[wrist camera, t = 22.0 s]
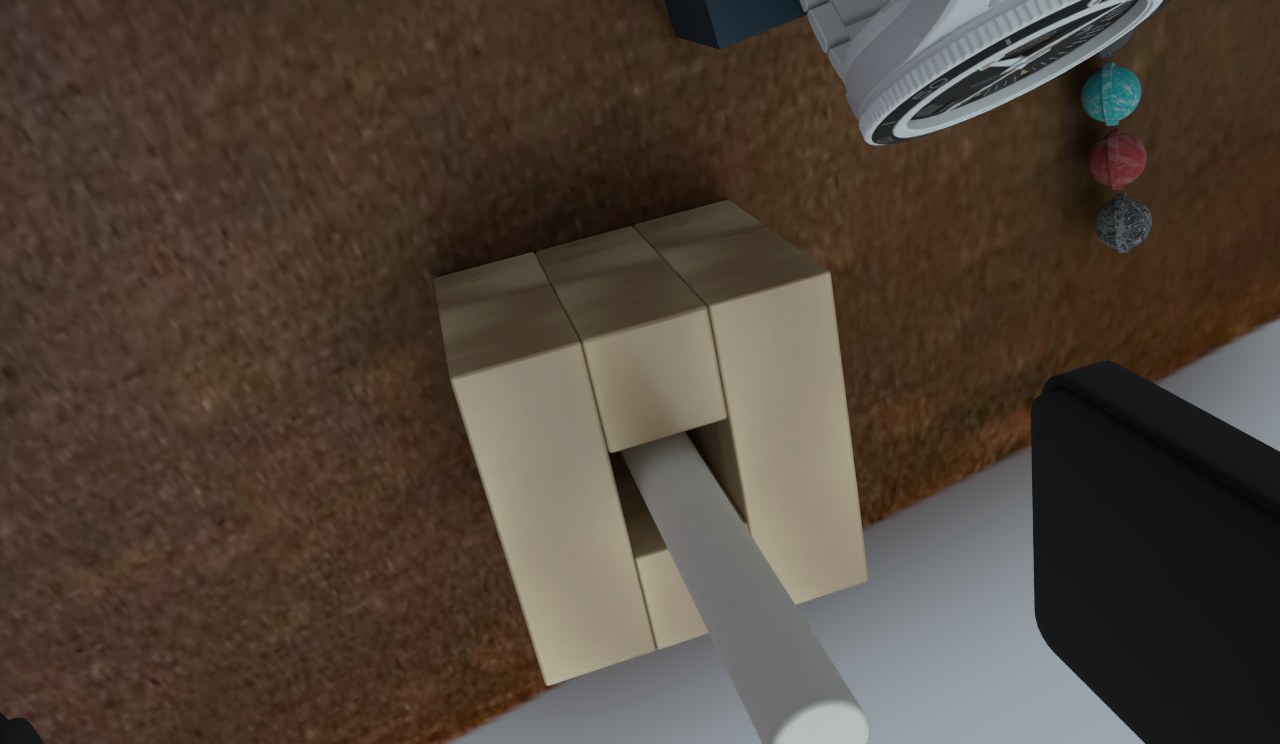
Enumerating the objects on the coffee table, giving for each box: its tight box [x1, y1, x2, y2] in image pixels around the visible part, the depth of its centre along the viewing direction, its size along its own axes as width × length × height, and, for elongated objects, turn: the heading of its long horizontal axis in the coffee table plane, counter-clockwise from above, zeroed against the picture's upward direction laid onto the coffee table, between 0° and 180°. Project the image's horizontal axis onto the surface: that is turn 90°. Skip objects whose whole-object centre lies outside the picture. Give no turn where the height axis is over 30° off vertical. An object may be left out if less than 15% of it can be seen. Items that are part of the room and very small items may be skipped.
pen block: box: [433, 200, 868, 686], centre depth 22 cm, size 7×7×6 cm
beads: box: [1081, 30, 1152, 253], centre depth 24 cm, size 8×2×1 cm
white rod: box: [621, 431, 869, 744], centre depth 19 cm, size 1×1×13 cm
